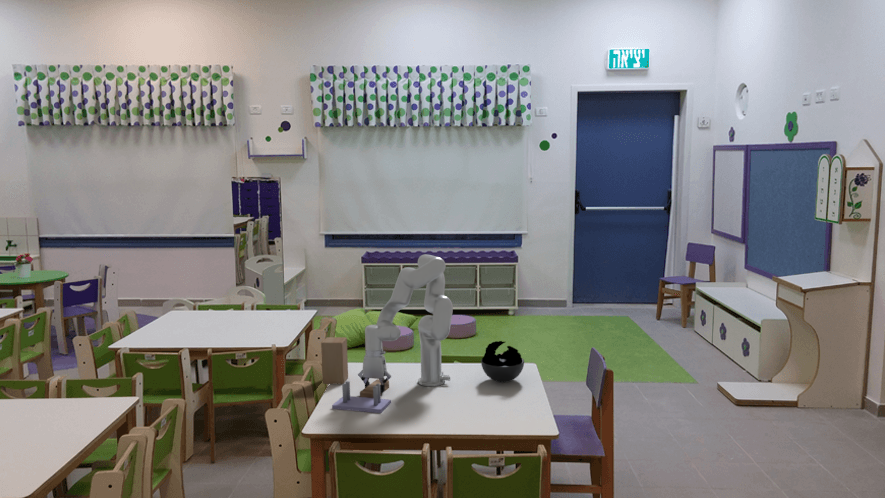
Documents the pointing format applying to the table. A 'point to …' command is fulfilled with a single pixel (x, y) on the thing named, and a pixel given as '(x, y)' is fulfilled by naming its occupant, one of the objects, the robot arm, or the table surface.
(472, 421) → the table surface
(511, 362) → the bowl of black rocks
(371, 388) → the shelf board
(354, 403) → the peg stand
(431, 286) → the robot arm
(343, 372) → the wooden block
